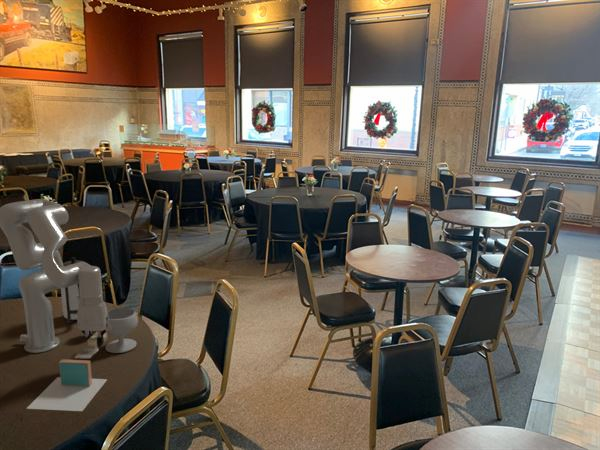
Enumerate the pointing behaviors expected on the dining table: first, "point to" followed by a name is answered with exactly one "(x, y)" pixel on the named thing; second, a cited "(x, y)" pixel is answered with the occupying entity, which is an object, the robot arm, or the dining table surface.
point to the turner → (91, 347)
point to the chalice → (121, 329)
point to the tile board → (66, 396)
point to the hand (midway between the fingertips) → (95, 345)
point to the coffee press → (70, 297)
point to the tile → (75, 373)
